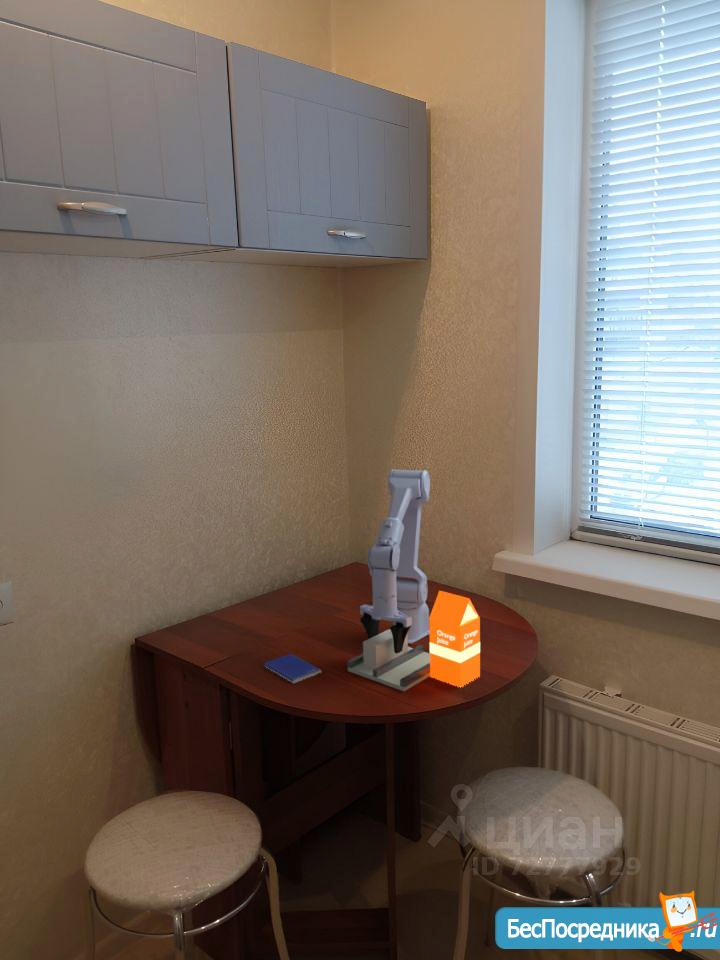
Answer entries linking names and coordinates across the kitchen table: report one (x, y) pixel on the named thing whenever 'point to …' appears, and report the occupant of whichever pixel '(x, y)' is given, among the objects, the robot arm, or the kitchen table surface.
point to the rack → (396, 669)
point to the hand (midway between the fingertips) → (386, 647)
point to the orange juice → (454, 640)
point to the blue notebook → (292, 668)
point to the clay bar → (381, 649)
